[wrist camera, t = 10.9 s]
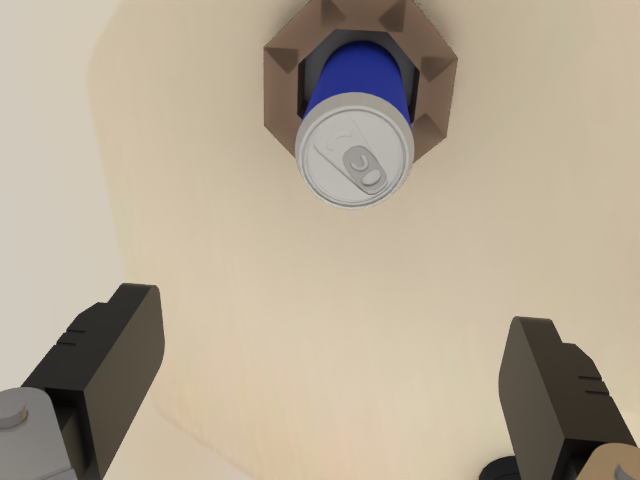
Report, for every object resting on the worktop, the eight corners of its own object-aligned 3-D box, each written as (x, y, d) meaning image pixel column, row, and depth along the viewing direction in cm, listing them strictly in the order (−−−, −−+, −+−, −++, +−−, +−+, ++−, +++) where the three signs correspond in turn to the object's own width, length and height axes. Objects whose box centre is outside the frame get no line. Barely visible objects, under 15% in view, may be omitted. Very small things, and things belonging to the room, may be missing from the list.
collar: (455, -11, 35) (467, -4, 31) (432, 161, 40) (439, 187, 36) (276, -20, 36) (263, -15, 31) (275, 151, 41) (264, 175, 36)
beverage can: (305, 74, 37) (266, 149, 24) (368, 21, 35) (364, 70, 22) (354, 135, 39) (343, 236, 26) (417, 86, 37) (440, 169, 24)
